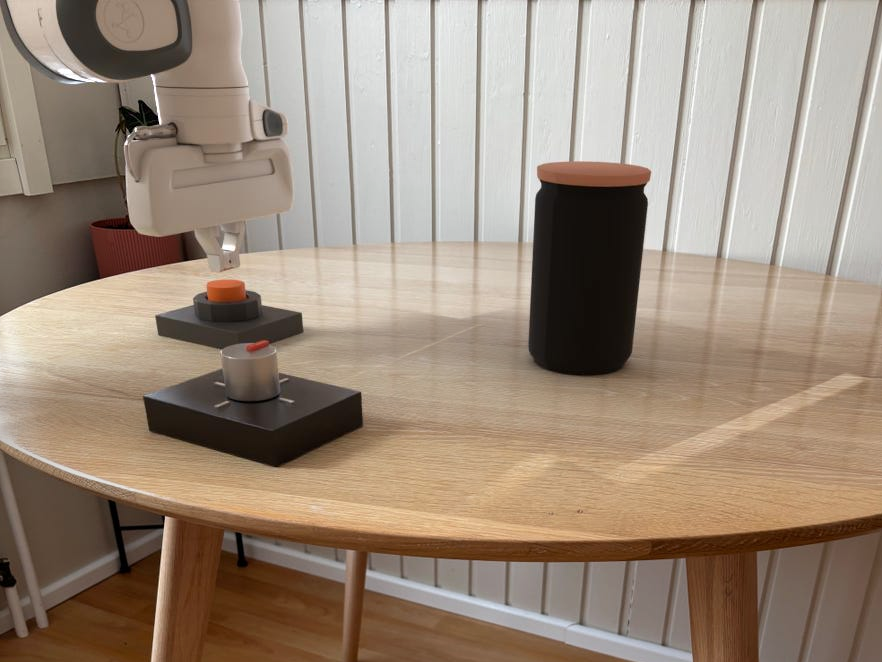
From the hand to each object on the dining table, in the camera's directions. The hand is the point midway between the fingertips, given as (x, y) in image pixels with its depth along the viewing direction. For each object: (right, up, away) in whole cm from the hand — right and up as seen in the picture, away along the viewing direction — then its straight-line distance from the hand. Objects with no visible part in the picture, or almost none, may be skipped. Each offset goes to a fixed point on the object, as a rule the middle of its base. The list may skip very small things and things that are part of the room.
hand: (225, 269), depth 99 cm
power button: (0, -3, +2) cm, 3 cm away
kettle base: (0, -6, +4) cm, 7 cm away
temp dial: (+8, -19, -22) cm, 30 cm away
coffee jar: (+37, -11, -2) cm, 39 cm away
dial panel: (+8, -21, -20) cm, 30 cm away
